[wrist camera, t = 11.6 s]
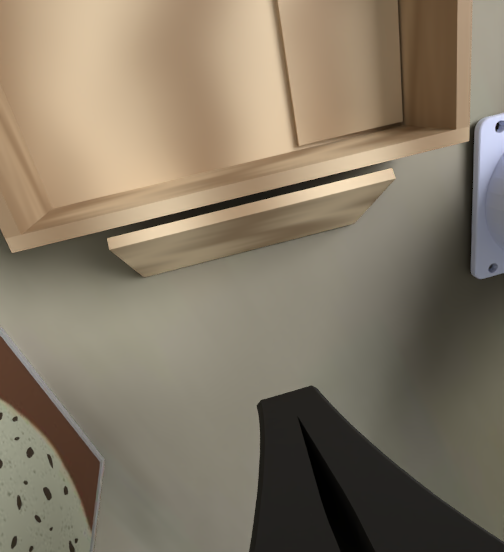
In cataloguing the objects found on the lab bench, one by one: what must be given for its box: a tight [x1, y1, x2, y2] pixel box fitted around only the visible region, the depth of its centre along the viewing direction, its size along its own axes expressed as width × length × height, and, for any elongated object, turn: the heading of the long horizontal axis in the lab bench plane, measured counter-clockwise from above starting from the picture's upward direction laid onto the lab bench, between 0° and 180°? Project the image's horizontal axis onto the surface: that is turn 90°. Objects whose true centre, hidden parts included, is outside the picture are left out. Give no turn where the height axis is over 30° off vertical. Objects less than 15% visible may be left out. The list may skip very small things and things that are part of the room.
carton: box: [0, 0, 472, 277], centre depth 13 cm, size 16×15×4 cm
